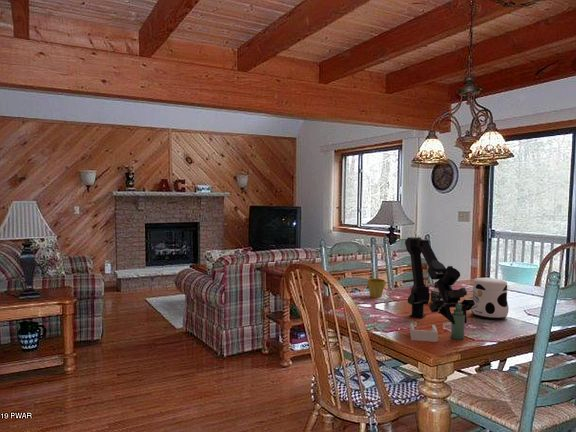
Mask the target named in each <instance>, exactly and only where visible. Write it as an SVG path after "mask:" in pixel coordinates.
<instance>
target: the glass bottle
mask: <svg viewBox="0 0 576 432" xmlns="http://www.w3.org/2000/svg"><path fill="white" fill-rule="evenodd" d="M454 308H455V309H453V312H451V314H452V316H453V319H454V322H455V323H454V324H452V323H451V322H450V323H451V324H450V327H451V328H450V338H451V339H454V340H457V341H458V340H459V341H461V340H464V339H465V326H466V325H465V324H466V323H465V315H464V314H463V311H462V304H460V302H458V303H456V307H454Z"/></svg>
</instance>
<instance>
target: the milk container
mask: <svg viewBox="0 0 576 432" xmlns="http://www.w3.org/2000/svg"><path fill="white" fill-rule="evenodd" d="M471 299H473V300H474V302H475V305H474V306H473V307H472V308H471V309H470V311H471V313H472V314H473V315H475V316H476V317H480V318H484V319H488V320H502V319H504V318H506V317H507V316H508V314H509V309H510V308H509V304H508V282H507V281H506V280H503V279H499V278H493V277H491V278H490V277H477V278H474V279H473V283H472V298H471Z"/></svg>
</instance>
